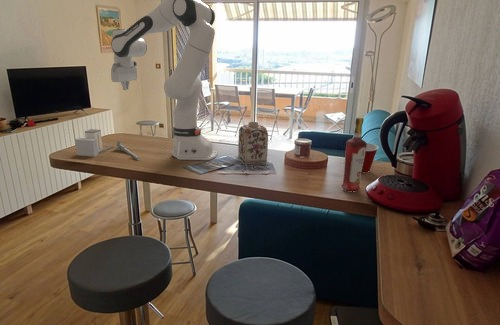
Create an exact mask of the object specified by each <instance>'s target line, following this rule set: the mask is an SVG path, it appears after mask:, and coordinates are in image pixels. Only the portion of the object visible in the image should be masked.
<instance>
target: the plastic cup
mask: <svg viewBox="0 0 500 325" xmlns="http://www.w3.org/2000/svg"><path fill="white" fill-rule="evenodd" d="M366 143H367V147H366V152H365V157H364V162H363V167H362V172H368V171H369V172H370V171H371V168H372V166H373V163H374V160H375V157H376V154H377V151H378V150H379V149H380V147H379V145H377V144H375V143H371V142H366ZM369 172H368V173H369Z"/></svg>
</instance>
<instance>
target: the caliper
mask: <svg viewBox="0 0 500 325" xmlns="http://www.w3.org/2000/svg"><path fill="white" fill-rule="evenodd" d="M115 145H116V150H118V151H121V152H124V153H126V154H128V155H129V156H131V157H132V158H133V159H134V160H136V161H141V159H140V157H139V156H138V155H137V154H135V153H133V152H132V151H130V150H129V149H128V148H126V146H125V145H123V144H122V143H121V141H120V140H116V144H115Z"/></svg>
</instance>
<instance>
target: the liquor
mask: <svg viewBox="0 0 500 325" xmlns="http://www.w3.org/2000/svg"><path fill="white" fill-rule="evenodd" d="M363 125H364V117H357V116H356V117H355V126H354V132H353V137H352V138H350V139H348V140H346V142H345V153H344V154H345V155H344V166H343V167H344V172H343V182H342V184H341V188H343V190H344V191H345V190H346V192H347V191H352V192H351V193H354V192H353V191H356V192H358V191H359V190H360V189H361V187H360V182H361V176H362V173H361V172H362V167H363V162H364V157H365V152H366V147H367V143H368V142H366V141H365V140H363V139H362V131H363Z"/></svg>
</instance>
